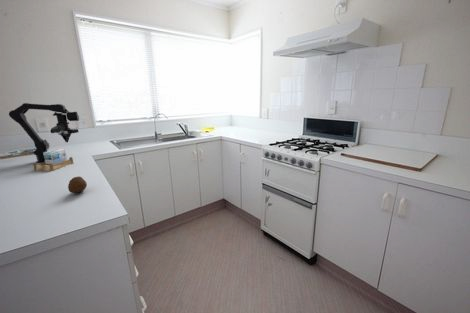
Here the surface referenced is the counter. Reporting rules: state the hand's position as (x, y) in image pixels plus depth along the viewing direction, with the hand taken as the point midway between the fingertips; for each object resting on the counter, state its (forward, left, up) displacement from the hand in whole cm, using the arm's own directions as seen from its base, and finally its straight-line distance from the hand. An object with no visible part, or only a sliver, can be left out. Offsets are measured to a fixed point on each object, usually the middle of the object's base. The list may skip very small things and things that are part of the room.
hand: (66, 142), depth 168 cm
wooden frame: (+7, -21, -13) cm, 25 cm away
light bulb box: (+7, -18, -13) cm, 24 cm away
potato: (+59, -59, -13) cm, 85 cm away
